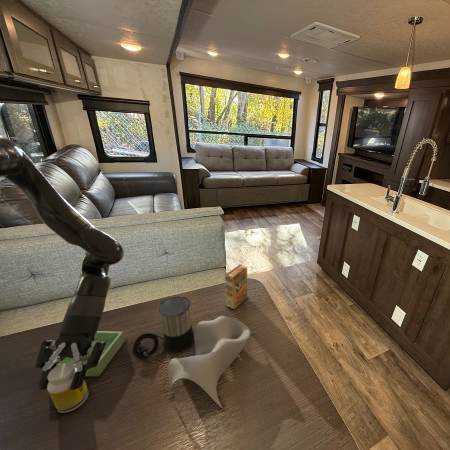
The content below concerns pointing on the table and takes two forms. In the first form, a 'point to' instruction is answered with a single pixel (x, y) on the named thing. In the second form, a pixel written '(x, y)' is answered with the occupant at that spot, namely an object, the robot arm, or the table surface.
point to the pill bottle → (65, 388)
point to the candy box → (236, 286)
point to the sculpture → (210, 353)
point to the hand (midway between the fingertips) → (59, 388)
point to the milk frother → (170, 327)
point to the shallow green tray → (111, 348)
